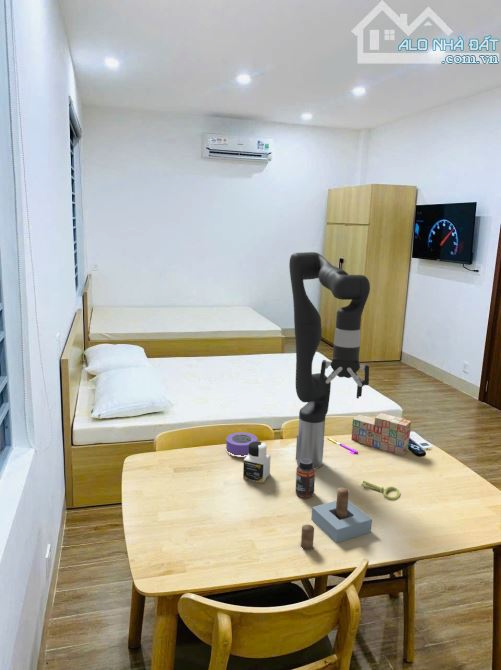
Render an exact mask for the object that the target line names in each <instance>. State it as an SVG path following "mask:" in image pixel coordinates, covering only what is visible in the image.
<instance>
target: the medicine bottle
mask: <svg viewBox="0 0 501 670" xmlns="http://www.w3.org/2000/svg"><path fill="white" fill-rule="evenodd" d="M242 468H243V473H242V478H245V479H244V480H247V479H249V480H248V481H251V480H253V481H252V482H255V481H257V482H256V483H260V482H261V483H260V484H263V483H264V482H265V481H266V479H267V478H268V477H269V476H270V474H271V455H270V454H268V453H267V444H266V443H265V442H263V441H260V440H259V441H258V440H257V441H255V442H251V443H250V444H249V450H248V456H247V457H244V459H243V467H242Z"/></svg>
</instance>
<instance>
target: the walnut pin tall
mask: <svg viewBox="0 0 501 670" xmlns="http://www.w3.org/2000/svg"><path fill="white" fill-rule="evenodd" d="M349 491H350V490H349V489H348V488H346V487H339V488H337V490H336V500H335V501H336V515H335V516H336V517H337V518H338V519H339V520H342V519H345V518H347V509H348V500H349V495H350V494H349V493H350V492H349Z"/></svg>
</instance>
